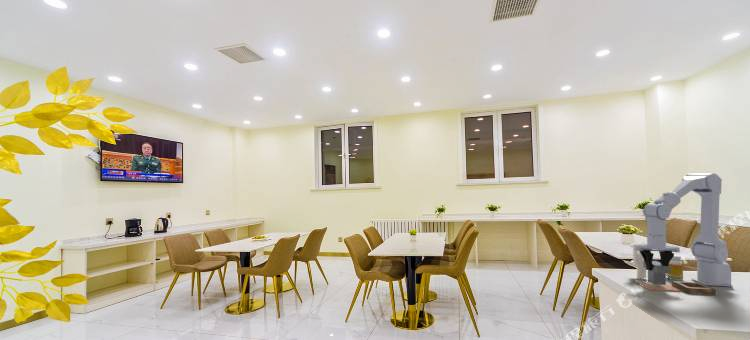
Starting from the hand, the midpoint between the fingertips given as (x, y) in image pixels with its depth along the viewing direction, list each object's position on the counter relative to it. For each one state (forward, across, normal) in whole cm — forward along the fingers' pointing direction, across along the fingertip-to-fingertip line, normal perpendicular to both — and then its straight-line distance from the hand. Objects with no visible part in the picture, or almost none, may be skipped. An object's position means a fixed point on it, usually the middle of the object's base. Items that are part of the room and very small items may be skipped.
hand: (656, 270), depth 137 cm
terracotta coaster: (+6, 0, 0) cm, 6 cm away
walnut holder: (+6, -11, +2) cm, 13 cm away
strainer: (+7, -1, -12) cm, 14 cm away
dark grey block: (+5, 0, 0) cm, 5 cm away
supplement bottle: (+7, -14, -14) cm, 21 cm away
